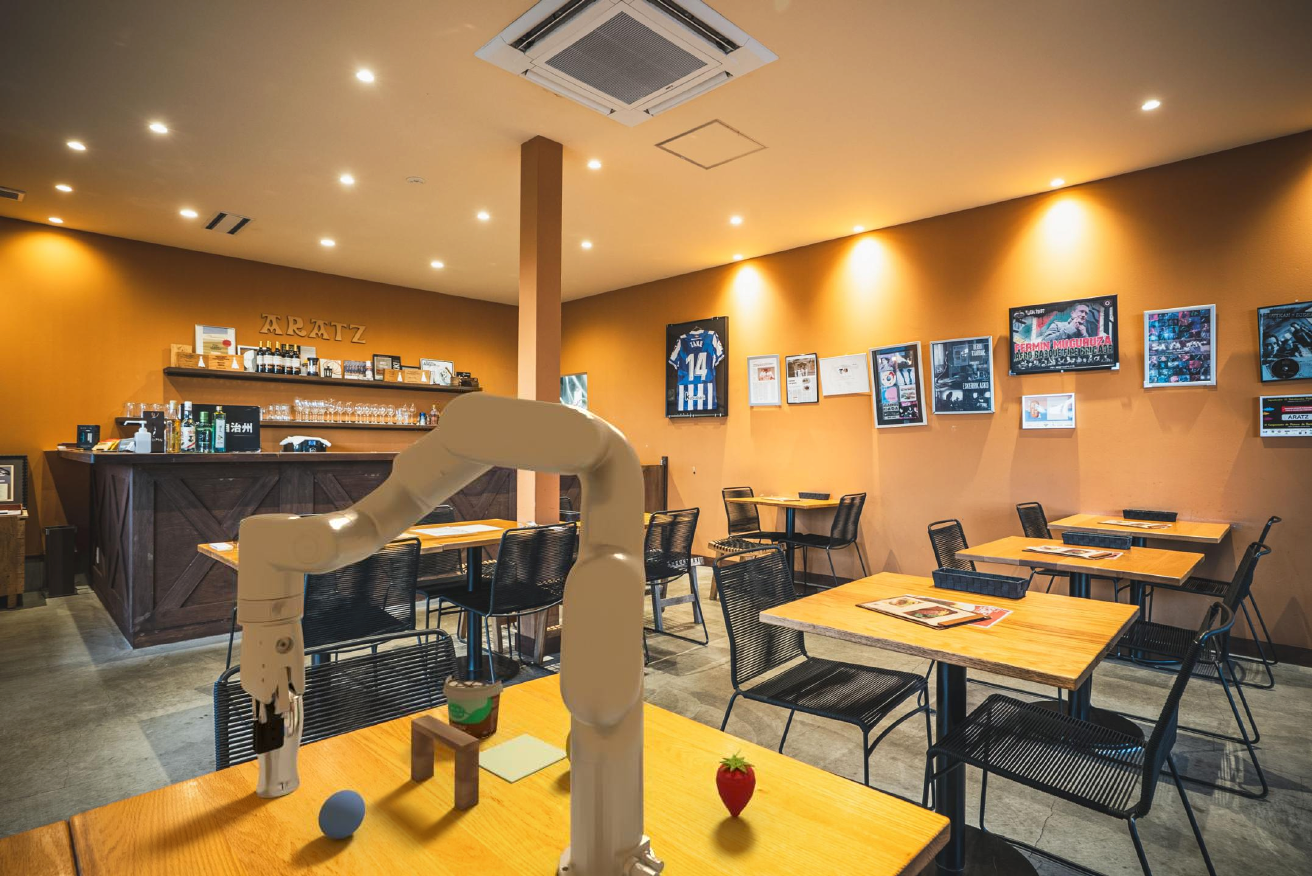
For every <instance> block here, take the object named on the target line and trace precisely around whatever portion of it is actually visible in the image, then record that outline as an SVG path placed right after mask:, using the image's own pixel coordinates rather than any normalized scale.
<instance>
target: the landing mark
mask: <svg viewBox="0 0 1312 876" xmlns="http://www.w3.org/2000/svg"><path fill="white" fill-rule="evenodd" d="M566 758H567V755H566V750H563V749H561V748H559V747H557V746H554V745H553V744H550V743H548V742H546V741H543V740H542V739H539V738H537V737H535V736H532V735H529V734H528V733H524V734H521V735H519V736H516V737H514V738H512V739H510V740H509V739H508V740H507V741H504V742H502V743H500V744H497V745H495V746H492V747H490V748H487V749H486V750H483V751H479V767H481V768H483V769H485V770H486V771H488V772H489V773H490V772H491V773H492V774H494V775H496V776H497V777H500V778H502V779H504V780H505V781H507V782H509V783H511V784H514V783H515V782H517V781H520V780H522V779H524V778H526V777H528V776H530V775H532V774H534V773H536V772H538V771H541V770H543V769H544V768H547V767H548V766H551V765H553V764H555V763H557V762H560V761H562V760H563V759H566Z"/></svg>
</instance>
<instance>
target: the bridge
mask: <svg viewBox="0 0 1312 876" xmlns="http://www.w3.org/2000/svg"><path fill="white" fill-rule="evenodd" d="M410 722H411V723H410V724H411V725H410V753H411V754H410V779H411V781H413V782H414V783H420V781H421V782H423V781H425V780H427V779H430V778H431V777H432V776H433V777H434V776H435V741H436V742H438V743H440V744H442V745H444V746H445V747H448V748H449V749H451V750H453V751H454V790H453V791H454V799H453V801H454V808H456V809H457V810H460V811H461V812H462V811H465V810H468V809H470V808H471V807H473V806H475V805H477V804H480V766H479V753H480V739H477V738H475V737H473V736H471V735H469V734H467V733H465V732H463V731H461V730H458V729H456V728H454V727H452V726H450V725H449V723H446V722H444V721H442V720H440V719H438V718H436V717H434V716H431V715H429V714H425V715H422V716H419V717H416V718H413V719H411V721H410Z"/></svg>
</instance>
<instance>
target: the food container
mask: <svg viewBox="0 0 1312 876" xmlns="http://www.w3.org/2000/svg"><path fill="white" fill-rule="evenodd" d="M503 692H504V685H503V683H502V680H499V681H497V682H494V683H492V684H491V683H486V682H482V681H478V680H456V679H453V678H452V674H450V675H449V676H448V677H446V680H445V682H444V684H443V690H442V693H443V695H444V696H445V697H446V701H447V702H446V703H447V712H448V714H447V715H448V725H450V726H452V727H454V728H456V729H458V730H461V731H463V732H465V733H467V734H469V735H471V736H473V737H475V738H477V739H479V740H480V739H483V738H482V737H485V738H487V737H486V736H488V737H490V736H491V735H490V734H492V735H494V734H496V733H497V732H496V731H497V730H498V721H499V720H498V719H499V711H500V700H501V693H503ZM495 732H496V733H495ZM493 733H494V734H493ZM489 735H490V736H489Z"/></svg>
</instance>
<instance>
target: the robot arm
mask: <svg viewBox="0 0 1312 876" xmlns="http://www.w3.org/2000/svg"><path fill="white" fill-rule="evenodd" d="M639 459H640V458H639V456H638V454H637V452H636V450H635V449H634V447H633V445H632V443H631V442H630V440H628V438H627V437H626V436H625V434H623V433H622V432H621V431H620V430H619V429H617V428H616V427H615V426H614V425H612V424H611V423H609V422H608V421H606V420H604V419H603V418H602V417H600V416H597V415H596V414H595V413H593V412H592V411H591V412H590V411H589V410H586V409H585V408H583V407H579V406H577V405H576V406H575V405H572V404H565V403H558V402H550V401H543V400H542V401H541V400H532V399H526V398H519V397H509V396H504V395H497V394H491V393H485V392H479V391H473V392H466V393H463V394H460V395H459V396H456V397H455V398H453V399H452V400H450V401H448V403H447V404H446V405H445V407H443V409H442V411H441V413H440V414H439V418H438V421H437V426H436V427H434V428H433V429H432V430H431V431H429V432H428V433H426V434H425V435H423V436H422V437H421V438H419V439H417V440H416V441H415V442H414V443H412V444H410V445H409V446H408V447H406V448H404V449H403V450H401V451H400V452H399V453H398V454H397V455H396V456H395V457H394V459H393V461H392V469H391V470H392V471H391V473H390V475H389V476H388V478H387V479H386V480H385V481H384V482H382V484H380V485H379V486H378V487H377V488H376V489H374V490H373V491H372V492H370V493H369V494H367V495H365V496H364V497H363V498H362V499H360V500H359V501H356V503H354V504H353V505H351V506H349V507H348V508H345V509H344V510H338V511H331V512H327V513H322V514H321V513H320V514H317V515H309V516H304V517H301V516H300V515H299V514H298V515H297V514H295V513H263V514H261V513H260V514H256V515H249V516H247V517H245V518H244V519H243V520H242V521H241V522H240V524H239V529H238V551H237V552H238V557H237V559H238V560H237V561H238V562H237V564H238V565H237V597H236V598H237V600H236V603H237V605H236V608H237V609H236V625H239V626H241V627H242V632H241V645H240V662H239V663H240V664H239V677H240V686H241V688H242V689H243V691H244V692H246V693H247V694H249V695H250V696H251V701H252V704H251V707H252V708H251V709H252V718H253V720H252V747H251V748H252V751H253V752H255V753H256V755H257V754H263V753H266V752H269V751H272V750H275V749H279V748H281V747H283V745H284V718H285V713H286V712H288V711H290V700H289V691H290V692H291V693H293V694H295V695H297V696H301V695H302V696H303V695H304V693H305V692H306V667H305V665H306V664H305V646H304V645H305V643H304V635H303V627H302V621H301V619H302V618H303V617H304V602H305V601H304V599H305V598H304V595H305V593H304V592H305V591H304V590H305V587H304V586H305V575H306V574H308V575H323V574H326V573H330V572H333V571H336V570H339V569H342V568H344V567H346V566H349V565H352V564H356V563H357V562H361V561H363V560H365V559H367V558H369V557H370V556H371V557H372V555H374V554H375V553H377V552H378V551H379V550H381V549H382V548H384V547H386V546H387V545H388V544H390V543H391V542H393V541H395V540H396V539H397V538H399V537H400V536H402V535H403V534H404V533H406V532H407V531H408V530H409V529H411V528H412V527H413V526H414V525H416V524H417V523H418V522H420V521H421V520H422V519H423V518H425V517H426V516H427V515H429V514H430V513H432V512H433V511H434V509H436V508H437V507H438V506H440V505H442V503H444V502H445V501H446V500H448V499H449V498H451V497H452V496H453V495H455V494H456V493H458V491H461V490H462V489H463V488H465V487H466V486H467V485H469V484H470V483H472V482H473V481H474V480H476V479H477V478H479V477H481V476H483V474H485V473H486V472H488V471H489V470H491V469H492V468H493V467H499V468H506V469H507V468H508V469H513V470H522V471H528V472H535V473H536V472H537V473H543V474H551V475H559V476H573V475H574V476H575V475H576V476H577V477H578V479H579V482H580V487H581V500H580V510H579V512H580V513H579V520H580V521H579V522H580V526H579V527H580V528H579V543H578V554H577V558H576V561H575V563H574V564H573V566H572V567H571V569H570V570H569V573H568V575H567V576H566V580H565V584H564V589H563V595H562V596H563V597H562V610H561V611H562V613H561V635H560V657H559V661H560V662H559V693H560V697H561V699H562V703H563V704H564V706H565V708H566V710H567V711H568V712H569V714H570V730H571V749H570V762H569V763H570V764H569V765H570V767H569V768H570V769H569V771H570V773H569V775H570V777H569V778H570V782H569V783H570V799H569V800H570V803H569V806H570V816H569V817H570V819H569V820H570V822H569V823H570V824H569V825H570V827H569V828H570V830H569V831H570V833H569V834H570V838H569V839H570V844H569V845H568V846H567V847H566V848H565V849H564V850H563V851H562V853H561V854H560V857H559V860H558V867H557V869H558V876H661V875H660V874H661V873H662V872H663V871H664V867H665V862H664V861H663V860H661V859H660V858H658V857H656V854H655V851H654V850H653V848H652V846H651V838H650V837H648V836H647V835H645V834H644V832H645V830H644V829H645V828H644V827H645V825H644V824H645V823H644V821H645V820H644V819H645V818H644V817H645V814H644V812H645V810H644V809H645V808H644V806H645V805H644V803H645V802H644V797H645V795H644V794H645V793H644V792H645V791H644V789H645V788H644V782H645V781H644V743H645V741H644V739H645V737H644V736H645V735H644V733H645V728H644V727H645V725H644V721H645V720H644V711H645V709H644V707H645V706H644V705H645V704H644V703H645V701H644V699H645V698H644V697H645V695H644V694H645V690H644V689H645V655H644V654H645V653H644V649H643V644H644V643H643V642H644V641H643V640H644V617H645V614H644V613H645V593H646V587H647V586H646V585H647V580H646V579H647V578H646V569H645V523H646V522H645V513H646V512H645V504H646V503H645V502H646V501H645V500H646V496H645V494H646V493H645V490H646V489H645V478H644V473H643V468H642V465H641V461H640V460H639ZM254 719H257V720H254Z"/></svg>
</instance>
